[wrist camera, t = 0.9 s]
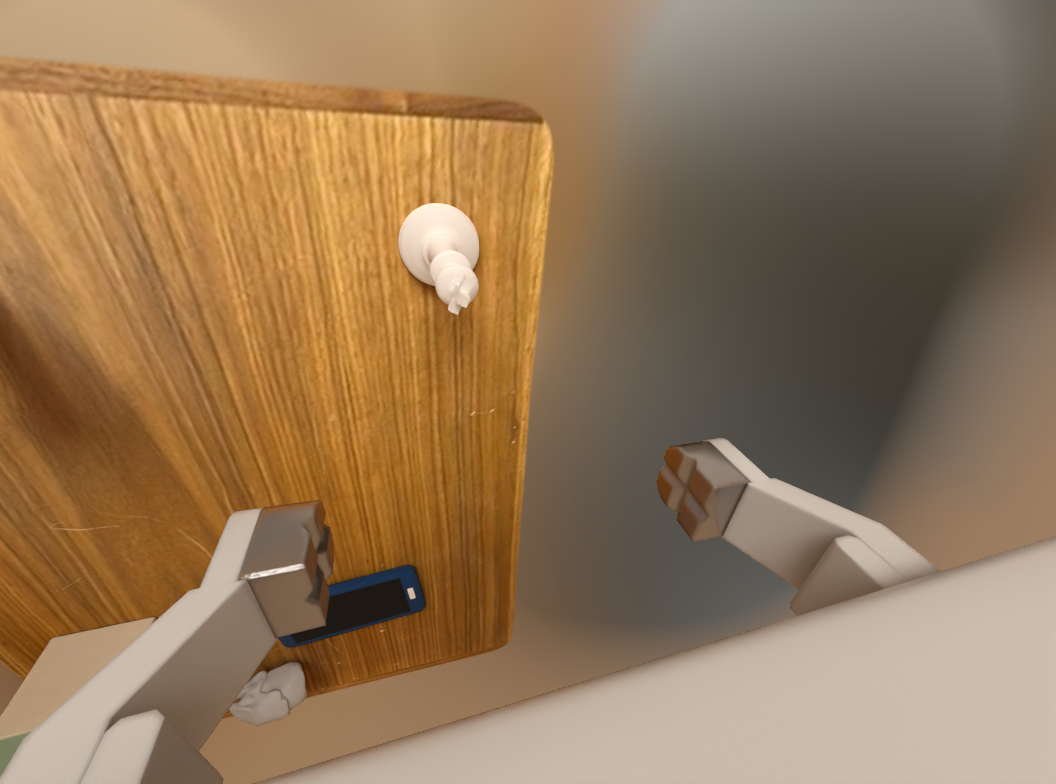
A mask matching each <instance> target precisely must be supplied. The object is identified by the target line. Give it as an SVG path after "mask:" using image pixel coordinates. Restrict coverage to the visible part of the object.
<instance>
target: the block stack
mask: <svg viewBox="0 0 1056 784" xmlns="http://www.w3.org/2000/svg"><path fill="white" fill-rule="evenodd" d="M156 620H157V619H156V618H155V617H151V618H146V619H142V620H137V621H132V622H127V623H122V624H117V625H113V626H108V627H103V628H98V629H93V630H89V631H84V632H79V633H74V634H69V635H65V636H60V637H55V638H52V639H51V640H50V642H49V643H48V645H47V646H46V648H45V649H44V651H43V652H42V654H41V655H40V657H39V658H38V660H37V662H36V663H35V665H34V666H33V668H32V669H31V671H30V672H29V674H28V675H27V677H26V678H25V680H24V681H23V683H22V684H21V686H20V688H19V689H18V691H17V692H16V694H15V695H14V697H13V698H12V700H11V701H10V703H9V704H8V706H7V707H6V709H5V710H4V712H3V714H2V715H1V717H0V777H1V775H2V773H3V772H4V770H5V768H6V767H7V765H8V763H9V762H10V760H11V758H12V757H13V755H14V753H15V752H16V750H17V748H18V747H19V745H20V744H21V742H22V740H23V739H24V738H25V737H26V736H27V735H29V734H30V733H31V732H32V731H33V730H34V729H35V728H36V727H38V726H39V725H40V724H41V723H42V722H43V721H44V720H45V719H46V718H48V717H49V716H50V715H51V714H52V713H53V712H54V711H55V710H57V709H58V708H59V707H60V706H61V705H62V704H63V703H64V702H65V701H67V700H68V699H69V698H70V697H71V696H72V695H73V694H74V693H76V692H77V691H78V690H79V689H80V688H81V687H82V686H83V685H84V684H86V683H87V682H88V681H89V680H90V679H91V678H92V677H93V676H95V675H96V674H97V673H98V672H99V671H100V670H101V669H102V668H103V667H105V666H106V665H107V664H108V663H109V662H110V661H111V660H112V659H113V658H115V657H116V656H117V655H118V654H119V653H120V652H121V651H122V650H124V649H125V648H126V647H127V646H128V645H129V644H130V643H131V642H132V641H134V640H135V639H136V638H137V637H138V636H139V635H140V634H141V633H143V632H144V631H145V630H146V629H147V628H148V627H149V626H150V625H151V624H153V623H154V622H155V621H156Z"/></svg>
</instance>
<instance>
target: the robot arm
mask: <svg viewBox="0 0 1056 784" xmlns="http://www.w3.org/2000/svg"><path fill="white" fill-rule="evenodd" d="M664 460H665V462H666V463H667V464H666V465H665V466H664V468H663V469H661V471H660V472H659V476H658V480H657V484H658V491H659V494H660V496H661V499H662V500H663V502H664V503H665V505H666V506H667V507H668V508H670V509H672V510H674V511H675V512H677V514H678V515H677V521H678V522H679V524H680V525H681V526H682V528H683V529H684V530H685V532H686V533H687V534H688V536H689V537H690V539H691V540H692V541H693V542H694V541H699V540H704V539H710V538H715V537H719V536H723V537H722V538H723V539H725V540H727V541H728V542H729V543H731V544H732V545H734V546H735V547H737V548H738V549H740V550H741V551H742V552H744V553H746V554H747V555H749V556H750V557H751V558H753V559H754V560H756V561H757V562H759V563H760V564H762V565H763V566H765V567H766V568H768V569H769V570H771V571H772V572H774V573H775V574H776V575H778V576H779V577H781V578H782V579H784V580H785V581H787V582H788V583H790V584H791V585H793V586H794V587H796V588H797V589H799V591H798V592H797V594H796V595H795V597H794V598H793V600H792V601H791V607H790V608H791V609H792V610H793V612H794V613H795V614H796V615H797V616H795V617H792V618H788V619H785V620H782V621H779V622H775V623H772V624H769V625H766V626H763V627H759V628H756V629H753V630H749V631H746V632H743V633H740V634H736V635H733V636H730V637H727V638H724V639H721V640H717V641H714V642H711V643H708V644H704V645H701V646H698V647H694V648H691V649H688V650H684V651H681V652H678V653H675V654H671V655H669V656H665V657H662V658H658V659H655V660H652V661H649V662H645V663H643V664H639V665H636V666H633V667H629V668H626V669H623V670H620V671H616V672H613V673H610V674H607V675H603V676H600V677H597V678H594V679H591V680H587V681H584V682H581V683H577V684H574V685H571V686H568V687H564V688H561V689H558V690H555V691H552V692H548V693H545V694H542V695H539V696H535V697H532V698H529V699H526V700H522V701H519V702H516V703H512V704H509V705H506V706H503V707H500V708H496V709H493V710H490V711H487V712H484V713H480V714H477V715H474V716H470V717H467V718H464V719H461V720H457V721H454V722H451V723H448V724H444V725H441V726H438V727H435V728H432V729H428V730H425V731H422V732H418V733H415V734H412V735H409V736H406V737H402V738H399V739H396V740H393V741H389V742H386V743H383V744H380V745H376V746H373V747H370V748H367V749H364V750H360V751H357V752H354V753H351V754H347V755H344V756H341V757H337V758H334V759H331V760H328V761H325V762H321V763H318V764H315V765H312V766H308V767H305V768H302V769H299V770H296V771H292V772H289V773H286V774H283V775H279V776H276V777H273V778H270V779H266V780H263V781H260V782H257V783H253V784H1056V536H1054V537H1051V538H1048V539H1044V540H1041V541H1038V542H1035V543H1032V544H1028V545H1025V546H1022V547H1019V548H1016V549H1012V550H1009V551H1006V552H1002V553H999V554H996V555H993V556H990V557H986V558H983V559H980V560H976V561H974V562H970V563H967V564H964V565H961V566H957V567H954V568H950V569H947V570H944V571H940V570H939V569H937V568H936V567H935V566H934V565H932V564H931V563H930V562H929V561H927V560H926V559H925V558H924V557H922V556H921V555H920V554H919V553H918V552H916V551H915V550H914V549H912V548H911V547H910V546H909V545H907V544H906V543H905V542H904V541H903V540H901V539H900V538H899V537H898V536H896V535H895V534H894V533H893V532H891V531H890V530H889V529H888V528H886V527H885V526H884V525H882V524H880V523H878V522H875V521H873V520H871V519H868V518H866V517H864V516H861V515H859V514H857V513H854V512H852V511H850V510H847V509H845V508H843V507H840V506H838V505H836V504H833V503H831V502H829V501H826V500H824V499H822V498H820V497H817V496H815V495H813V494H810V493H808V492H806V491H803V490H801V489H799V488H796V487H794V486H792V485H789V484H787V483H785V482H782V481H780V480H778V479H776V478H775V479H769V478H768V477H767V476H766V475H765V474H764V473H763V472H762V471H761V470H760V469H758V468H757V467H756V466H755V465H754V464H753V463H752V462H751V461H750V460H749V459H747V458H746V457H745V456H744V455H743V454H742V453H741V452H740V451H739V450H738V449H737V448H735V447H734V446H733V445H732V444H731V443H730V442H729V441H728V440H725V439H723V438H717V439H711V440H705V441H700V442H693V443H688V444H681V445H675V446H670V447H669V448H668V449H667V451H666V453H665V456H664ZM325 513H326V512H325V509H324V506H323V504H322V501H320V500H316V501H308V502H300V503H293V504H285V505H277V506H270V507H264V508H259V509H251V510H243V511H235V512H234V513H233V514H232V515H231V516H230V517H229V519H228V521H227V523H226V526H225V528H224V531H223V533H222V535H221V538H220V540H219V543H218V545H217V547H216V550H215V552H214V555H213V557H212V559H211V562H210V564H209V567H208V569H207V572H206V574H205V576H204V579H203V581H202V584H201V586H200V588H198V589H193V590H189V591H188V592H187V593H186V594H185V595H184V596H183V597H182V598H181V599H179V600H178V601H177V602H176V603H175V604H174V605H173V606H172V607H170V608H169V609H168V610H167V611H166V612H165V613H164V614H163V615H162V616H160V617H159V618H158V619H157V620H156V621H155V622H154V623H153V624H151V625H150V626H149V627H148V628H147V629H146V630H145V631H144V632H143V633H141V634H140V635H139V636H138V637H137V638H136V639H135V640H134V641H132V642H131V643H130V644H129V645H128V646H127V647H126V648H125V649H124V650H122V651H121V652H120V653H119V654H118V655H117V656H116V657H115V658H113V659H112V660H111V661H110V662H109V663H108V664H107V665H106V666H105V667H103V668H102V669H101V670H100V671H99V672H98V673H97V674H96V675H95V676H93V677H92V678H91V679H90V680H89V681H88V682H87V683H86V684H84V685H83V686H82V687H81V688H80V689H79V690H78V691H77V692H76V693H74V694H73V695H72V696H71V697H70V698H69V699H68V700H67V701H65V702H64V703H63V704H62V705H61V706H60V707H59V708H58V709H57V710H55V711H54V712H53V713H52V714H51V715H50V716H49V717H48V718H46V719H45V720H44V721H43V722H42V723H41V724H40V725H39V726H38V727H36V728H35V729H34V730H33V731H32V732H31V733H30V734H29V735H27V736H26V737H25V738H24V739H23V740H22V742H21V744H20V745H19V747H18V748H17V750H16V752H15V753H14V755H13V757H12V758H11V760H10V762H9V763H8V765H7V767H6V768H5V770H4V772H3V773H2V775H1V777H0V784H222V783H223V778H222V776H221V775H220V774H219V772H218V771H217V770H216V769H215V768H214V767H213V766H212V765H211V764H210V763H209V762H208V761H207V760H206V759H205V758H204V757H203V756H202V755H201V754H200V753H199V750H200V749H201V748H202V746H203V745H204V743H205V742H206V740H207V739H208V738H209V736H210V734H211V733H212V732H213V730H214V729H215V728H216V726H217V725H218V723H219V722H220V721H221V719H222V718H223V716H224V715H225V713H226V712H227V711H228V709H229V708H230V706H231V705H232V703H233V702H234V701H235V699H236V698H237V696H238V695H239V694H240V692H241V691H242V689H243V688H244V686H245V685H246V684H247V682H248V681H249V679H250V678H251V676H252V675H253V674H254V672H255V671H256V669H257V668H258V667H259V665H260V664H261V662H262V661H263V659H264V658H265V657H266V655H267V654H268V652H269V651H270V649H271V648H272V647H273V645H274V644H275V642H276V638H278V637H282V636H286V635H290V634H294V633H298V632H302V631H305V630H309V629H313V628H317V627H321V626H325V625H326V618H327V611H328V603H329V596H330V592H329V589H328V586H327V583H326V580H327V579H328V578H329V577H330V575H331V574H332V572H333V563H334V545H333V538H332V533H331V530H330V527H328V526H327V525H325V524H324V520H325Z"/></svg>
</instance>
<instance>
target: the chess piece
mask: <svg viewBox="0 0 1056 784" xmlns="http://www.w3.org/2000/svg"><path fill="white" fill-rule="evenodd" d="M398 245H399V252H400V255H401V258H402V260H403V262H404V264H405V266H406V267H407V269H408V270H409V271H410V272H411V273H412V274H413V275H414V276H415V277H416V278H417V279H419V280H420V281H422V282H424V283H426V284H429V285H432V286H435V287H436V292H437V295H438V296H439V298H440V299H441V300H442V301H443V302H444V303H445V304H447V305H449V306H448V310H449V311H450V312H452V313H454V314H457V315H458V313H459V311H460V309H461V308H462V306H463V307H465V308H466V307H467V305H468V304H469V303H470V302H472V301H473V300H474V298H475V297H476V295H477V293H478V288H479V284H478V279H477V277H476V275H475V273H474V272H473V269H474V267H475V265H476V263H477V260H478V257H479V240H478V235H477V232H476V229H475V227H474V225H473V224H472V222H471V221H470V219H469V218H468V217H467V216H466V215H465V214H464V213H463V212H461V211H460V210H458V209H457V208H455V207H453V206H450V205H447V204H442V203H432V204H426V205H423V206H421V207H419V208H417V209H415V210H414V211H413V212H412V213H410V214H409V215H408V217H407V218H406V219H405V221H404V222H403V224H402V226H401V229H400V233H399V239H398Z"/></svg>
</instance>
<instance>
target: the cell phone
mask: <svg viewBox="0 0 1056 784" xmlns="http://www.w3.org/2000/svg"><path fill="white" fill-rule="evenodd" d="M328 589H329V592H330V596H329V603H328V611H327V618H326V625H325V626H321V627H317V628H313V629H309V630H305V631H302V632H298V633H294V634H290V635H286V636H282V637H278V639H279V640H280V641H281V643H282V644H283V645H284V646H286V647H297V646H301V645H304V644H308V643H311V642H315V641H318V640H322V639H325V638H329V637H332V636H336V635H339V634H343V633H346V632H350V631H353V630H357V629H360V628H364V627H367V626H371V625H374V624H378V623H381V622H385V621H388V620H392V619H395V618H399V617H402V616H406V615H409V614H413V613H416V612H419V611H422V610H423V609H424V607H425V600H424V596H423V593H422V589H421V586H420V583H419V579H418V576H417V572H416V570H415V568H414V567H413V566H410V565H408V566H403V567H399V568H395V569H391V570H387V571H383V572H379V573H376V574H372V575H368V576H364V577H360V578H356V579H352V580H349V581H345V582H341V583H337V584H333V585H329V586H328Z"/></svg>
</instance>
